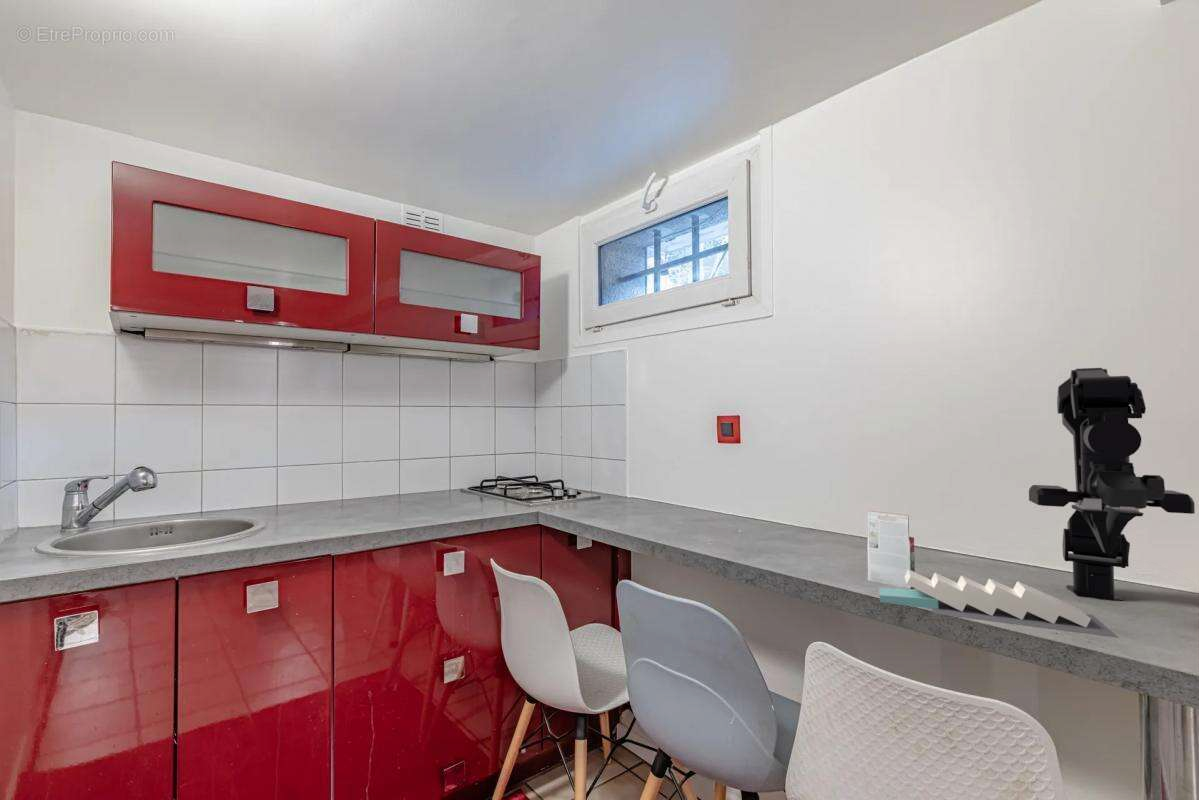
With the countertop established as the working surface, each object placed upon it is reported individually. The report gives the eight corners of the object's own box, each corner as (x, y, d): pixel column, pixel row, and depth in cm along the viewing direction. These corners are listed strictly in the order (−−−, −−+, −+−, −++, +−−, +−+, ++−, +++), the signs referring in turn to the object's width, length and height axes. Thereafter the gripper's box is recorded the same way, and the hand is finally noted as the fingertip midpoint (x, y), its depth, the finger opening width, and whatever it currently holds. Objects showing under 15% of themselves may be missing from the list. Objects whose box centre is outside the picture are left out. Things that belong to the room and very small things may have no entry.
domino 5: (1054, 623, 88) (991, 594, 91) (1044, 613, 92) (985, 586, 96) (1058, 615, 87) (995, 586, 91) (1049, 605, 92) (989, 578, 95)
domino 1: (938, 609, 94) (880, 604, 98) (934, 600, 99) (879, 595, 103) (937, 599, 94) (879, 595, 98) (934, 591, 99) (878, 587, 103)
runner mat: (926, 597, 102) (926, 595, 102) (1092, 617, 91) (1092, 614, 91) (933, 615, 92) (933, 613, 92) (1119, 640, 82) (1119, 637, 82)
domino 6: (1086, 627, 86) (1021, 597, 90) (1074, 617, 90) (1013, 589, 94) (1090, 618, 86) (1025, 589, 89) (1079, 608, 90) (1017, 581, 94)
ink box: (872, 578, 113) (871, 508, 114) (916, 586, 108) (914, 512, 108) (867, 582, 111) (866, 510, 111) (911, 591, 105) (909, 515, 106)
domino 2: (962, 611, 93) (906, 584, 97) (957, 602, 97) (904, 576, 101) (966, 603, 93) (910, 576, 96) (961, 595, 97) (908, 569, 101)
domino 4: (1022, 619, 89) (962, 591, 93) (1014, 610, 94) (957, 583, 97) (1026, 611, 89) (966, 582, 93) (1018, 602, 94) (961, 575, 97)
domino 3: (992, 616, 91) (934, 587, 95) (986, 606, 96) (931, 580, 99) (996, 607, 91) (938, 579, 95) (990, 598, 95) (934, 572, 99)
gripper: (1048, 456, 84) (1050, 558, 84) (1215, 460, 76) (1219, 573, 76) (1026, 451, 94) (1029, 542, 94) (1172, 454, 86) (1175, 554, 86)
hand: (1107, 552), depth 87 cm, fingers closed
